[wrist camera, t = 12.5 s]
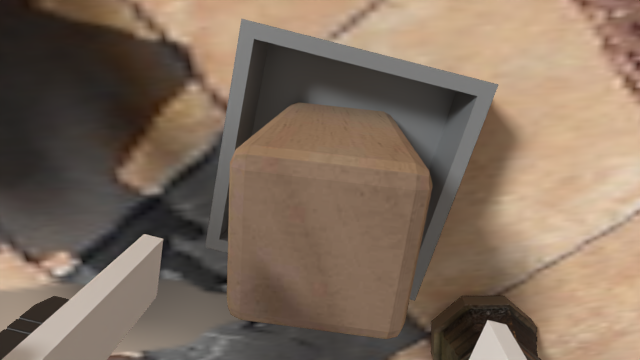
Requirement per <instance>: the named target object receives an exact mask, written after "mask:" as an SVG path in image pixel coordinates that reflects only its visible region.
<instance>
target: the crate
mask: <svg viewBox="0 0 640 360" xmlns="http://www.w3.org/2000/svg"><path fill="white" fill-rule="evenodd" d="M497 87H498V84H494V83H490V82H486V81H483V80H479V79H475V78H471V77H467V76H463V75H459V74H455V73H451V72H447V71H444V70H440V69H436V68H432V67H428V66H424V65H420V64H416V63H412V62H408V61H405V60H401V59H397V58H393V57H389V56H385V55H381V54H377V53H373V52H369V51H366V50H362V49H358V48H354V47H350V46H346V45H342V44H338V43H334V42H330V41H326V40H323V39H319V38H315V37H311V36H307V35H303V34H299V33H295V32H291V31H287V30H284V29H280V28H276V27H272V26H268V25H264V24H260V23H256V22H252V21H248V20H245V19H241V25H240V32H239V38H238V44H237V50H236V57H235V63H234V69H233V75H232V82H231V88H230V94H229V100H228V107H227V113H226V119H225V125H224V132H223V138H222V144H221V150H220V157H219V163H218V169H217V175H216V182H215V188H214V194H213V200H212V207H211V213H210V219H209V225H208V232H207V238H206V244H205V247H206V248H210V249H214V250H218V251H221V252H225V253H228V224H229V178H230V161H231V159H232V157H233V154H234V152H235V150H236V149H237V148H238V147H239V146H240V145H242V144H243V143H244V142H245V141H247V140H248V139H249V138H250V137H252V136H253V135H254V134H255V133H256V132H258V131H259V130H260V129H261V128H263V127H264V126H265V125H266V124H268V123H269V122H270V121H271V120H273V119H274V118H275V117H276V116H277V115H279V114H280V113H281V112H282V111H284V110H285V109H286V108H287V107H289V106H290V105H291V104H295V103H298V102H300V103H310V104H319V105H328V106H337V107H347V108H356V109H365V110H374V111H384V112H386V113H387V114H389V115H391V116H392V118H393V119H394V121H395V122H396V124H397V125H398V126H399V128H400V129H401V131H402V132H403V134H404V135H405V137H406V138H407V139H408V141H409V142H410V144H411V145H412V147H413V148H414V150H415V151H416V152H417V154H418V155H419V157H420V158H421V160H422V161H423V163H424V164H425V165H426V167H427V168H428V170H429V172H430V176H431V180H432V185H433V187H432V192H431V197H430V201H429V206H428V211H427V216H426V221H425V226H424V231H423V236H422V241H421V246H420V251H419V255H418V260H417V265H416V270H415V275H414V280H413V285H412V290H411V295H410V300H414V301H415V299H416V296H417V294H418V291H419V289H420V286H421V283H422V281H423V278H424V276H425V273H426V271H427V268H428V265H429V263H430V260H431V258H432V255H433V252H434V250H435V247H436V245H437V242H438V239H439V237H440V234H441V232H442V229H443V227H444V224H445V221H446V219H447V216H448V214H449V211H450V208H451V206H452V203H453V201H454V198H455V196H456V193H457V190H458V188H459V185H460V183H461V180H462V177H463V175H464V172H465V170H466V167H467V165H468V162H469V159H470V157H471V154H472V152H473V149H474V146H475V144H476V141H477V139H478V136H479V134H480V131H481V128H482V126H483V123H484V121H485V118H486V115H487V113H488V110H489V108H490V105H491V102H492V100H493V97H494V95H495V92H496V90H497Z"/></svg>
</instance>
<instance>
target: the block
mask: <svg viewBox="0 0 640 360" xmlns="http://www.w3.org/2000/svg"><path fill="white" fill-rule="evenodd" d="M432 187H433V185H432V180H431V176H430V172H429V170H428V168H427V167H426V165H425V164H424V163H423V161H422V160H421V158H420V157H419V155H418V154H417V152H416V151H415V150H414V148H413V147H412V145H411V144H410V142H409V141H408V139H407V138H406V137H405V135H404V134H403V132H402V131H401V129H400V128H399V126H398V125H397V124H396V122H395V121H394V119H393V118H392V116H391V115H389V114H387V113H386V112H384V111H374V110H365V109H356V108H347V107H337V106H328V105H319V104H310V103H300V102H298V103H295V104H291V105H290V106H289V107H287V108H286V109H285V110H284V111H282V112H281V113H280V114H279V115H277V116H276V117H275V118H274V119H273V120H271V121H270V122H269V123H268V124H266V125H265V126H264V127H263V128H261V129H260V130H259V131H258V132H256V133H255V134H254V135H253V136H252V137H250V138H249V139H248V140H247V141H245V142H244V143H243V144H242V145H240V146H239V147H238V148H237V149H236V150H235V152H234V154H233V157H232V159H231V161H230V178H229V224H228V270H227V302H228V308H229V311H230V314H231V315H233V316H234V317H236V318H238V319H240V320H247V321H255V322H262V323H270V324H277V325H285V326H292V327H300V328H307V329H315V330H322V331H330V332H337V333H345V334H352V335H360V336H368V337H375V338H383V339H388V338H393V337H397V336H398V334H399V333H400V331H401V330H402V327H403V325H404V323H405V319H406V314H407V309H408V304H409V300H410V295H411V290H412V285H413V280H414V275H415V270H416V265H417V260H418V255H419V251H420V246H421V241H422V236H423V231H424V226H425V221H426V216H427V211H428V206H429V201H430V197H431V192H432Z"/></svg>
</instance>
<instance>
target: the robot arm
mask: <svg viewBox="0 0 640 360" xmlns="http://www.w3.org/2000/svg"><path fill="white" fill-rule="evenodd" d="M162 245H163V239H162V238H158V237H154V236H150V235H146V234H144V235H143V236H141V237H140V238H139V239H138V240H137V241H136V242H135V243H133V244H132V245H131V246H130V247H129V248H128V249H127V250H126V251H124V252H123V253H122V254H121V255H120V256H119V257H118V258H116V259H115V260H114V261H113V262H112V263H111V264H110V265H108V266H107V267H106V268H105V269H104V270H103V271H102V272H101V273H99V274H98V275H97V276H96V277H95V278H94V279H93V280H91V281H90V282H89V283H88V284H87V285H86V286H85V287H83V288H82V289H81V290H80V291H79V292H78V293H77V294H76V295H74V296H73V297H72V298H71V299H70V300H69V299H65V298H61V297H57V296H53V297H51V298H49V299H47V300H44V301H42V302H40V303H38V304H36V305H34V306H33V307H31V308H30V309H29V310H28V311H26V312H25V313H24V314H23V315H21V316H20V318H19V319H16V321H14V322H13V323H11V324H10V325H9V326H8V327H7V329H6V330H3V331H1V332H0V360H107V359H108V357H109V356H110V355H111V354H112V352H113V351H114V350H115V348H116V347H117V346H118V345H119V343H120V342H121V341H122V340H123V338H124V337H125V336H126V335H127V333H128V332H129V331H130V330H131V328H132V327H133V326H134V324H135V323H136V322H137V321H138V319H139V318H140V317H141V316H142V314H143V313H144V312H145V311H146V309H147V308H148V307H149V305H150V304H151V303H152V302H153V300H154V299H155V298H156V296H157V288H158V280H159V271H160V262H161V254H162ZM469 360H527V359H526V357H525V355H524V354H523V352H522V350H521V349H520V347H519V345H518V343H517V342H516V340H515V338H514V337H513V335H512V333H511V332H510V330H509V328H508V326H507V325H506V324H502V323H498V322H494V321H490V320H487V323H486V325H485V327H484V329H483V331H482V333H481V335H480V337H479V339H478V342H477V344H476V346H475V348H474V350H473V352H472V354H471V356H470V358H469Z"/></svg>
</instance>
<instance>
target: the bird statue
mask: <svg viewBox="0 0 640 360" xmlns="http://www.w3.org/2000/svg"><path fill="white" fill-rule="evenodd" d="M487 320H490V321H494V322H498V323H502V324H506V325H507V326H508V328H509V330H510V332H511V333H512V335H513V337H514V338H515V340H516V342H517V343H518V345H519V347H520V349H521V350H522V352H523V354H524V355H525V357H526V359H527V360H541V359H540V358H538V355H537V345H536V342H537V336H536V332H537V327H536V326H535V324H534V323H533V321H532V320H531V319H530V318H529V317H528V316H527V315H526V314H525V313H523V312H522V311H521V310H520V309H519V308H518V307H516V306H515V305H514V304H513V303H512V302H510V301H509V300H508V299H507V298H506V297H505V296H461V297H460V298H459V299H458V300H457V301H455V302H454V303H453V304H452V305H451V306H449V307H448V308H447V309H446V310H445V311H443V312H442V313H441V314H440V315H439V316H437V317H436V318H435V319H434V320H433V321H432V324H431V354H432V358H433V360H469V358H470V356H471V354H472V352H473V350H474V348H475V346H476V344H477V342H478V339H479V337H480V335H481V333H482V331H483V329H484V327H485V325H486V323H487Z"/></svg>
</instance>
